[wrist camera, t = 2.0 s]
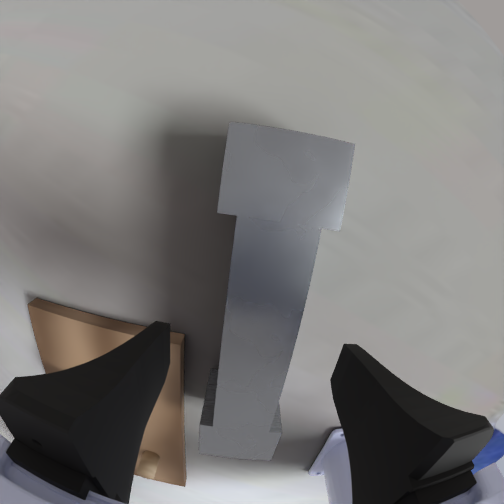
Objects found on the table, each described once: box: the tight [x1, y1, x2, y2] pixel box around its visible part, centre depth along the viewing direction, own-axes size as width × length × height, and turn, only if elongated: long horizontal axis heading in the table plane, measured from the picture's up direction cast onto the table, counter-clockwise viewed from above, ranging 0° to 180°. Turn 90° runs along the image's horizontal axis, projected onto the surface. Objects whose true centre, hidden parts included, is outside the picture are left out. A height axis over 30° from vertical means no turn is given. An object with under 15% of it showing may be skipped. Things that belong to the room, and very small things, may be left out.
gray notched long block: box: [199, 122, 355, 461], centre depth 14 cm, size 17×4×5 cm, turn 172°
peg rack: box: [28, 298, 186, 487], centre depth 18 cm, size 12×20×4 cm, turn 172°
